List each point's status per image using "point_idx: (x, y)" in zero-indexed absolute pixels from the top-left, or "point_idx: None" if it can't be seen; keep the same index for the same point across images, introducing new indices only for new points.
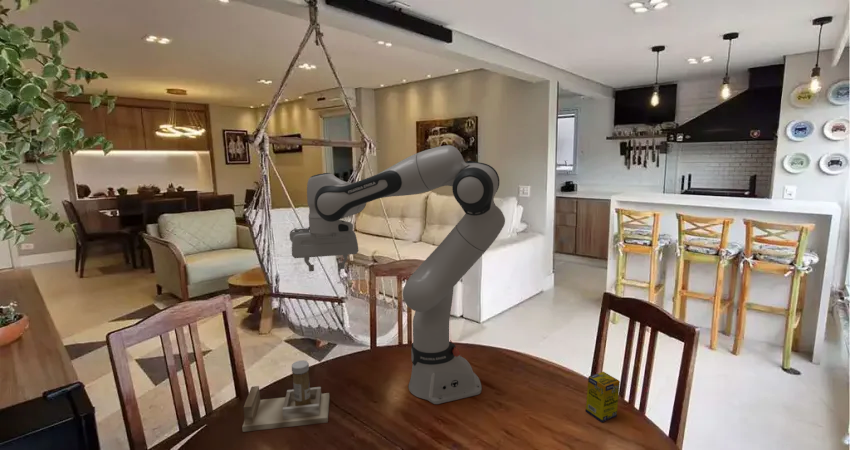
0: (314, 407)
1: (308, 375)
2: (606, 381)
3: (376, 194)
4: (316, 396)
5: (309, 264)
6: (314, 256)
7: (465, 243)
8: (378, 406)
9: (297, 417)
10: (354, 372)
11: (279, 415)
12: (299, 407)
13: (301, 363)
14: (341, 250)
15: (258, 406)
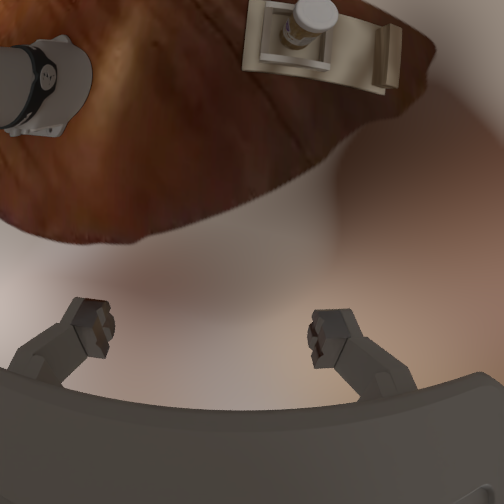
0: (274, 2)
1: (292, 15)
2: None
3: None
4: (270, 28)
5: (360, 347)
6: (338, 407)
7: None
8: (152, 29)
9: None
10: (185, 152)
11: (336, 30)
12: None
13: (314, 11)
14: (10, 414)
15: (373, 70)
